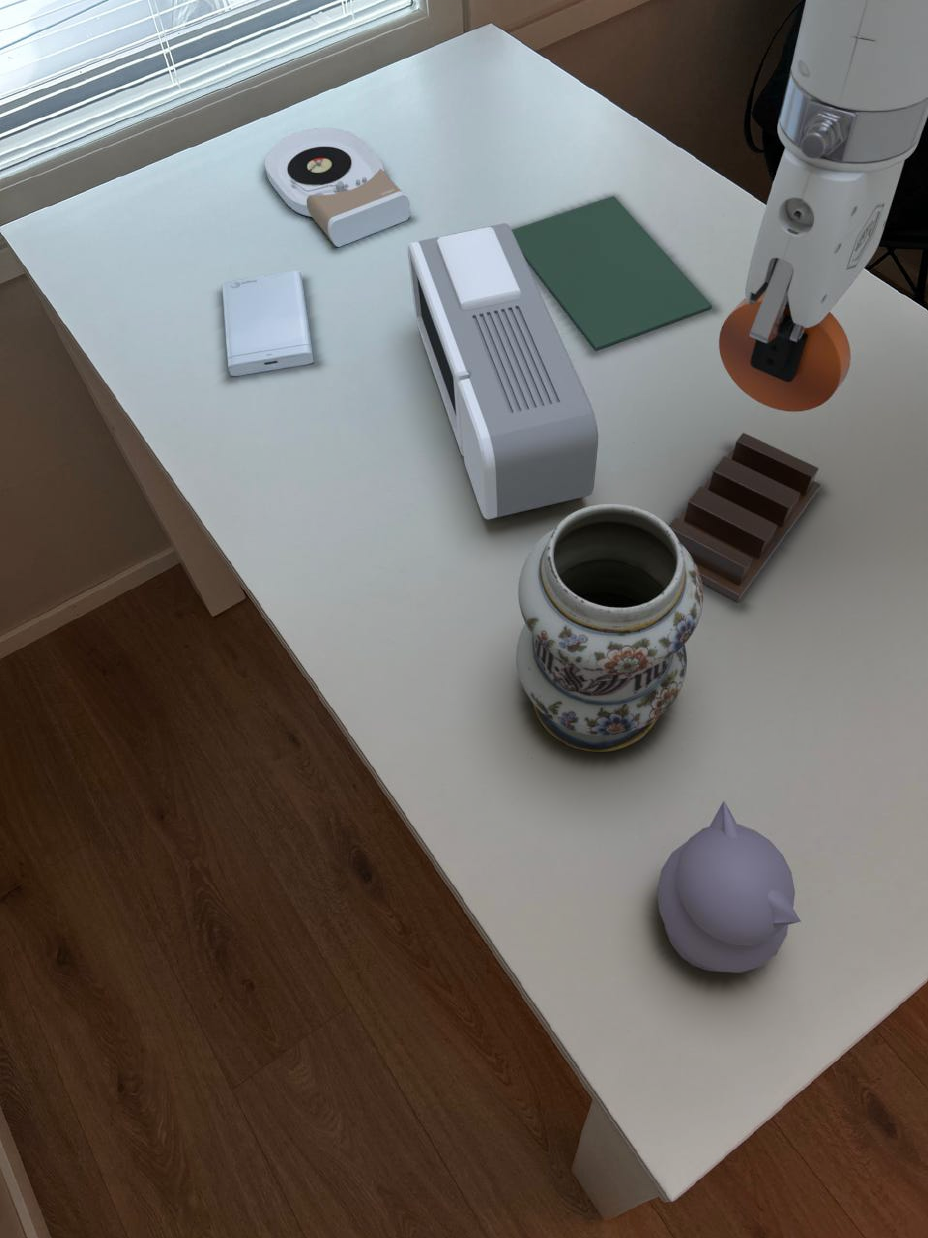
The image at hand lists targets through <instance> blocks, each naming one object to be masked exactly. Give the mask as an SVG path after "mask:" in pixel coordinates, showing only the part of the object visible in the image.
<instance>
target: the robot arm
mask: <svg viewBox="0 0 928 1238" xmlns="http://www.w3.org/2000/svg"><path fill="white" fill-rule="evenodd" d="M784 91H785V92H784V95H783V100H782V104H781V108H780V113H779V117H778V121H777V122H778V123H777V134H778V137H779V140H780V142H781V144H782V145H783V146H784V150H783V153H782V156H781V158H780V161H779V165H778V168H777V170H776V175H775V177H774V180H773V182H772V185H771V189H770V193H769V195H768V198H767V202H766V205H765V207H764V208H765V209H764V212H763V215H762V219H761V222H760V226H759V229H758V232H757V237H756V240H755V243H754V247H753V251H752V255H751V260H750V264H749V268H748V273H747V279H746V285H745V291H744V293H745V298H746V299H747V302H748V304H749V305H752V304H754V303H756V302H757V301H758V299H759V298H760V297H761V296H762V295H763V294H764V293H765V294H764V297H763V299H762V302H761V305H760V307H759V310H758V313H757V315H756V318H755V320H754V323H753V326H752V328H751V331H750V335H749V336H750V337H752V338H754V339H756V342H755V345H754V349H753V353H752V357H751V361H750V364H751V366H752V367H753V368H755V369H758V370H760V371H762V372H765V373H767V374H769V375H771V376H774V377H776V378H778V379H781V380H783V381H785V382H791V381H792V380H793V379H794V377H795V376H796V373H797V370H798V367H799V364H800V361H801V358H802V354H803V351H804V348H805V345H806V342H807V339H808V334H805V333H804V331H805V328H810V327H813V326H815V325H816V324H818V323H820V322H821V321H822V320H823V319H824V318H825V316H826V315H827V314H828V313H829V312H831V311H832V310H833V308H834V307H835V306H836V305H837V303H838V302H839V301H840V299H841V298H842V297H843V296H844V295H845V293H846V292H847V291H848V289H849V288H850V287H851V286H852V285H853V283H854V282H855V281H856V279H857V278H858V277H859V275H860V274H861V273H862V272H863V271H864V269H865V268H866V267H867V265H868V264H869V263H870V261H871V259H872V258H873V256H874V255H875V253H876V251H877V249H878V247H879V244H880V242H881V238H882V236H883V233H884V231H885V226H886V223H887V220H888V217H889V213H890V210H891V207H892V203H893V200H894V198H895V194H896V190H897V187H898V184H899V180H900V178H901V175H902V171H903V168H904V164H905V160H906V159H908V158H909V157H910V156H911V155H912V154H913V153H914V152H915V150H916V148H917V147H918V144H919V142H920V139H921V136H922V132H923V130H924V127H925V125H926V122H927V119H928V0H805V3H804V8H803V12H802V17H801V22H800V26H799V31H798V35H797V39H796V44H795V48H794V53H793V58H792V62H791V66H790V69H789V73H788V77H787V82H786V87H785V90H784ZM785 308H787V309H789V310H790V312H791V316H788V315H786V314H784V313H783V312H784V309H785Z"/></svg>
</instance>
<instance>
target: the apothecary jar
mask: <svg viewBox="0 0 928 1238" xmlns="http://www.w3.org/2000/svg"><path fill="white" fill-rule="evenodd" d="M517 597H518V605H519V609H520V612H521V617H522V618H523V621H524V624H523V627H522V629H521V631H520V634H519V637H518V640H517V643H516V644H517V645H516V652H515V653H516V655H515V656H516V657H515V659H516V669H517V674H518V678H519V681H520V682H521V684H522V687H523V690H524V691H525V693H526V695H527V697H528V699H529V700H530V701H531V702H532V704H533V708H534V711H535V714H536V716H537V718H538V720H539V722H540V723H541V725H542V726H543V728H545V730H546V731H547V732H548V733H549V734H550V735H551V736H553V737H554V738H555V739H557V740H558V741H560V742H562V743H563V744H565V745H567V746H568V747H571V748H573V749H577V750H581V751H586V752H592V753H593V752H595V753H606V752H613V751H617V750H620V749H624V748H626V747H629V746H631V745H633V744H635V743H637V742H638V741H639V740H641V739H642V738H643V737H644V736H646V734H647V733H649V732H650V730H651V729H652V728H654V725H655V724H656V723H657V721H658V719H659V718H660V717H661V716H662V715H663V714H664V713H666V711H668V709H669V708H670V707H671V706H672V705H673V704H674V702H675V700H676V699H677V697H678V696H679V694H680V692H681V690H682V687H683V685H684V682H685V678H686V674H687V664H688V659H687V657H688V656H687V655H688V654H687V649H686V643H687V642H688V641H689V639H690V638H691V636H693V633H694V632H695V630H696V629H697V627H698V623H699V621H700V618H701V616H702V612H703V605H704V587H703V583H702V581H701V577H700V574H699V571H698V568H697V566H696V564H695V562H694V560H693V558H692V557H691V555H690V554H689V552H688V551H687V550H686V548H685V547H684V546H683V545H682V544H681V543H680V542H679V540H678V539H677V537H676V535H675V534H674V532H673V531H672V530H671V528H670V527H669V525H668V523H666V522H665V521H663V520H662V519H661V518H660V517H659V516H657V515H655V514H653V513H651V512H649V511H648V510H644V509H642V508H640V507H636V506H633V505H627V504H619V503H603V504H601V503H600V504H595V505H589V506H585V507H583V508H580V509H578V510H576V511H573V512H571V513H570V514H568V515H567V516H565V518H563V519H561V521H560V522H559V523H558V524H557V526H555V527H554V528H552V529H550V531H548V532H547V533H546V534H544V535H543V536H542V537H541V538H540V539H539V540H538V541H537V542H536V543H535V544H534V545H533V547H532V548H531V550H530V551H529V553H528V555H527V556H526V558H525V559H524V562H523V565H522V568H521V570H520V575H519V578H518V589H517Z"/></svg>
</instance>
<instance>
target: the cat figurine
mask: <svg viewBox="0 0 928 1238" xmlns="http://www.w3.org/2000/svg"><path fill="white" fill-rule="evenodd" d="M795 897H796V889H795V883H794V877H793V874H792V870H791V868H790V867H789V864H788V862H787V860H786V858H785V856H784V854H782V852H781V851H780V850H779V849H778V848H777V847H776V846H775V844H774V843H773V842H772V840H770V839H769V838H767V837H766V836H764V835H763V834H761V833H760V832H758V831H757V830H755V829H753V828H750V827H748V826H744V825H741V824H739V823H738V822H737V821H736V819H735V818H734V816H733V814H732V812H731V810H730V809H729V807H728V805H727V803H726V801H725V800H723V801H722V803H721V805H720V807H719V808H718V810H717V812H716V814H715V815H714V818H713V819H712V822H711V823H710V825H709V826H707V827H703V828H702V829H700V830H699V831H697V832H696V833H695V834H693V835H692V836H691V837H689V839H688V840H687V841H685V842H684V843H682V844H681V845H680V846H679V847H678V848H676V849H675V850H673V851H672V852H671V853H670V855H669V857H668V858H667V860H666V861H665V863H664V865H662V868H661V869H660V875H659V878H658V884H657V901H658V911H659V915H660V917H661V919H662V922H663V924H664V931H665V933H666V935H667V938H668V941H669V943H670V945H671V946H672V947H673V949H674V950H675V952H676V953H677V954H678V955H679V956H680V957H681V958H682V959H683V960H685V961H686V962H688V963H689V964H690V965H691V966H693V967H696V968H698V969H700V970H701V969H702V970H704V971H706V972H712V973H713V972H716V973H717V972H718V973H736V974H741V973H744V972H745V973H746V972H749V971H751V970H755V969H757V968H761V967H763V966H764V965H765V964H767V962H769V961H770V960H771V959H772V958H774V957H775V956H776V955H777V954H778V952H779V950H780V948H781V947H782V945H783V943H784V941H785V940H786V938H787V935H788V931H789V925H792V924H796V923H801V922H802V920H801V919H800V917H799V916H798V914H797V912H796V911H795V909H794V903H795Z"/></svg>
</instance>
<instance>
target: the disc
mask: <svg viewBox="0 0 928 1238" xmlns="http://www.w3.org/2000/svg"><path fill="white" fill-rule="evenodd" d="M764 294H765V293H764ZM764 294H763V295H762V296H761V297H760V298H759V299H758V301H757V302H756V303H754V304H752V305H749V304H748V302H747V299H746V297H745V298H744V299H743V300H741V301H740V302H739V303H738V304H737V305H736V307H734V309H733V310H732V311H731V312H730V313H729V314H728V316H727V318H726V319H725V320H724V322H723V324H722V326H721V327H720V328H721V329H720V332H719V337H718V349H719V355H720V358H721V362H722V364H723V366H724V369H725V370H726V372H727V374H728V376H729V377H730V378H731V380H732V381H733V382H734V384H735V385H736V386H737V387H738V388H739V390H741V391H742V392H743V393H744V394H746V395H747V396H748V397H750V398H751V399H752V400H754V401H756V402H758V403H760V404H761V405H763V406H766V407H769V408H771V409H774V410H778V411H783V412H791V413H793V412H794V413H795V412H797V413H799V412H806V411H810V410H813V409H816V408H818V407H820V406H822V405H824V404H825V403H827V402H828V401H829V400H830V399H831V398H832V397H833V395H835V393H836V392H837V391H838V389H839V388H840V386H841V385H842V384H843V382H844V381H845V379H846V378H847V375H848V373H849V370H850V366H851V360H852V359H851V348H850V347H851V346H850V342H849V339H848V337H847V334H846V332H845V329H844V328H843V326H842V325H841V323H840V322H839V320H838V319H837V318H836V317H835V316H834V314H833V313H832V312H831V311H830V312H829V313H828V314H827V315H826V316H825V318H824V319H823V320H822V321H821V322H820V323H818V324H816V325H815V326H813V327H810V328H805V331H804V333H805V334H808V339H807V342H806V345H805V348H804V351H803V354H802V358H801V361H800V364H799V367H798V370H797V373H796V376H795V377H794V379H793V380H792V381H791V382H785V381H783V380H781V379H778V378H776V377H774V376H771V375H769V374H767V373H765V372H762V371H760V370H758V369H755V368H753V367H752V366H751V364H750V361H751V357H752V353H753V349H754V345H755V342H756V339H754V338H752V337H750V336H749V335H750V331H751V328H752V326H753V323H754V320H755V318H756V315H757V313H758V310H759V307H760V305H761V302H762V299H763V297H764ZM783 313H784V314H786V315H788V316H791V312H790V310H789V309H787V308H785V309H784V312H783Z"/></svg>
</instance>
